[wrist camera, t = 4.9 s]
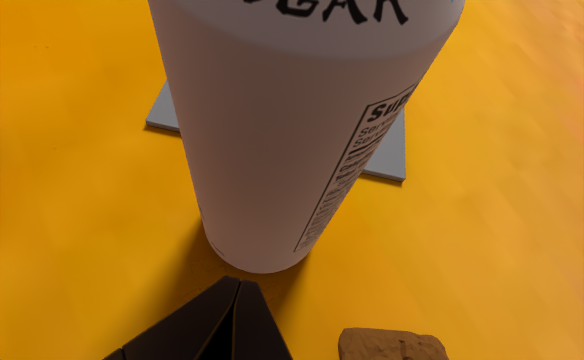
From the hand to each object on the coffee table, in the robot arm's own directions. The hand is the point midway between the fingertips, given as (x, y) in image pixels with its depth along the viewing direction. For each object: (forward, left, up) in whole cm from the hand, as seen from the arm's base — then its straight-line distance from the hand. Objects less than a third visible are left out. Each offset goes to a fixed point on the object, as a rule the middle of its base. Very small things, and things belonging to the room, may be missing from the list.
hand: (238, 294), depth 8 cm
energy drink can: (+3, +5, -8) cm, 10 cm away
